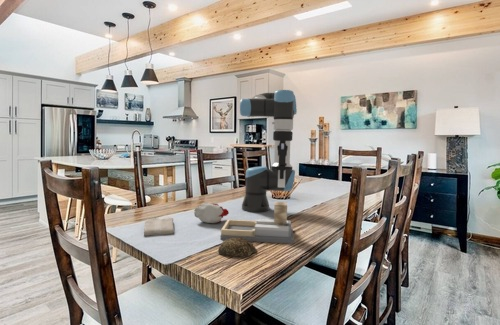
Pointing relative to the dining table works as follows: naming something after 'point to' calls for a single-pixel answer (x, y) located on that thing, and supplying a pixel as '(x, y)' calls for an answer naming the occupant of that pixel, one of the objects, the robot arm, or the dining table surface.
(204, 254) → the dining table surface
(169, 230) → the washcloth
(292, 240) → the keyhole board
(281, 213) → the maple peg
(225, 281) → the dining table surface
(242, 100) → the robot arm
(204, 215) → the white and red figurine
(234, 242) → the bread roll
